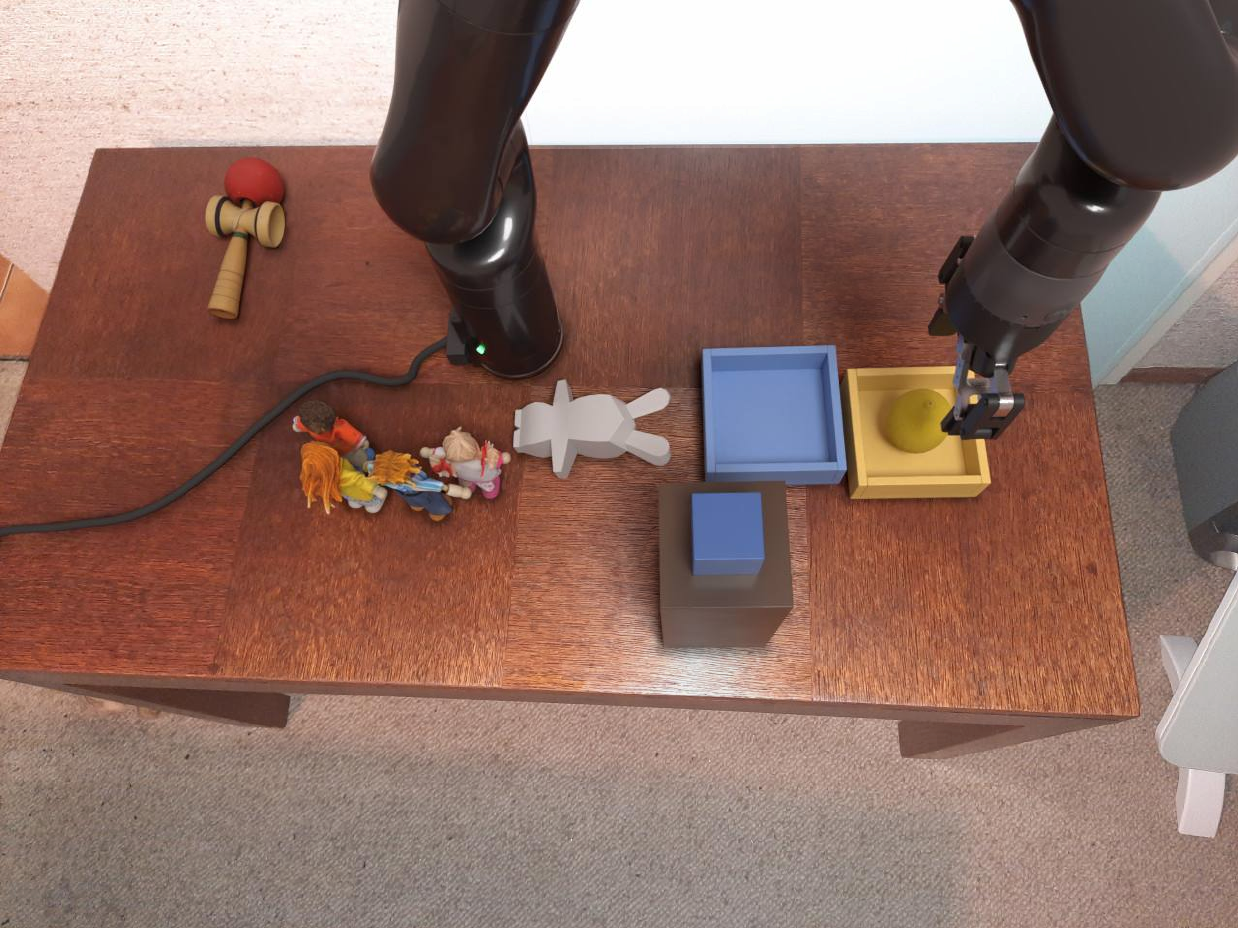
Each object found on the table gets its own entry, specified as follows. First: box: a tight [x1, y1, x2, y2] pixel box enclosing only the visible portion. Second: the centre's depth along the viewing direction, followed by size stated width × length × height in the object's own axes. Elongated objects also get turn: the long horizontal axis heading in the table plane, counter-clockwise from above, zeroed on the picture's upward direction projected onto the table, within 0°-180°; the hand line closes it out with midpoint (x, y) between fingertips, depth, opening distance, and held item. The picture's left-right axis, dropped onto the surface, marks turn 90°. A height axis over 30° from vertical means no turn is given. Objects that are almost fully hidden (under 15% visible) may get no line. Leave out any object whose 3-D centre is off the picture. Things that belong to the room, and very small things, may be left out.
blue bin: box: [700, 344, 847, 486], centre depth 82 cm, size 13×13×4 cm
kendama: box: [204, 156, 286, 320], centre depth 92 cm, size 8×6×18 cm
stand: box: [657, 481, 795, 649], centre depth 69 cm, size 9×9×20 cm
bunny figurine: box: [512, 378, 672, 480], centre depth 82 cm, size 10×5×15 cm
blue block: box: [691, 492, 765, 575], centre depth 57 cm, size 4×4×4 cm
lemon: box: [886, 388, 951, 454], centre depth 78 cm, size 6×6×8 cm
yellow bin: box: [839, 365, 992, 500], centre depth 80 cm, size 12×12×4 cm
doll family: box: [292, 399, 512, 522], centre depth 77 cm, size 21×10×13 cm, turn 77°
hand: (946, 379), depth 69 cm, fingers open, 8 cm apart
